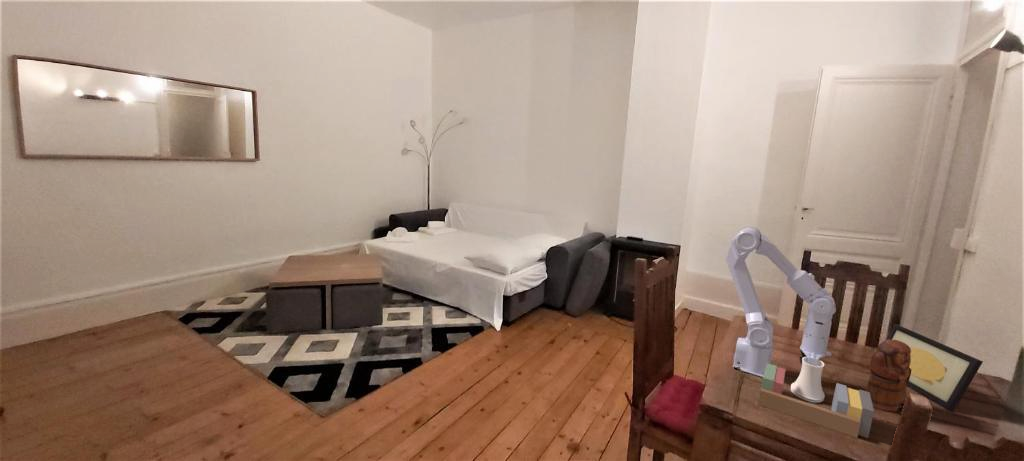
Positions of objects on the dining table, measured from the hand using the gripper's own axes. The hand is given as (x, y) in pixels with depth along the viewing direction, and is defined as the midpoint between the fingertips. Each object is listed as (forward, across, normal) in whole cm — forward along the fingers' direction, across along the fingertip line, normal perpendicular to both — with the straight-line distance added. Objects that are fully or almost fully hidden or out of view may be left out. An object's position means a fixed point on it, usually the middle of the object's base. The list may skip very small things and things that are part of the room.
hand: (807, 378), depth 115 cm
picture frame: (+2, +21, -27) cm, 35 cm away
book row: (+2, -15, -1) cm, 15 cm away
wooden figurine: (+2, +2, -17) cm, 17 cm away
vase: (+2, -7, 0) cm, 7 cm away
